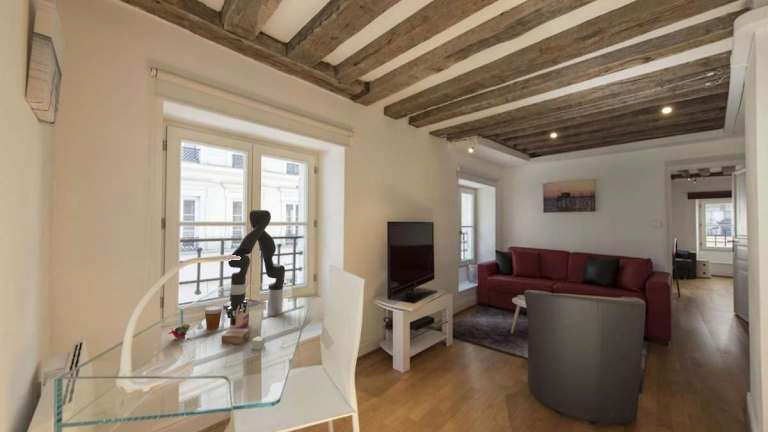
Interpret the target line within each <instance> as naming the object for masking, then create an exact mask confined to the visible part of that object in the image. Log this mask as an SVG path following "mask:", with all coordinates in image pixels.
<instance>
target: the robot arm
mask: <svg viewBox="0 0 768 432" xmlns="http://www.w3.org/2000/svg"><path fill="white" fill-rule="evenodd" d="M271 217H272V215H271V212H270V211H269V210H267V209H252V210H251V211H250V212H249V217H248V218H249V221H250V222H249V223H250V225H251V227H252V230H251V231H249V232H248V233H247V234H246V235H245V236H244V237H243V238H242V240H241V242H240V245H239V246H238V247H237V248H236V249H235V250H234V251H233V252H232V253H231V255H236V256H240V257H241V259H240V260H231V261H228V260H227V261H228V266H229V267H230V268H234V269H235V268H236V269H240V270H239V271H234V272H232V273H231V279H230V280H231V281H230V291H229V301H230V304H231V307H230V306H229V307H227V308H225V309H226V315H227V318H228V319H230V318H231V325H235V323H236V314H237V313H238V312H240V313H245V312H246V307H247V303H248V302H247V301H244V300H245V298H246V295H247V294H246V291H247V286H246V282H247V281H246V280H247V273H248V270H249V267H250V264H251V259H250V256H248V255H250V254H251V253H252V252H253V249H254V248H255V245H256V243H257V242H258V243H257V244H258V246H259V250H260V253H261V255H262V259H263V263H264V269H265V274H266V275H267V276H266V277H268V278H271V279H275V282H271V283H269V284H268V291H267V293H268V294H267V311H266V314H267V316H270V317H276V316H281V315H282V314H283V303H284V299H283V298H284V297H283V295H284V294H283V291H284V284H285V275H286V268H285V265H282V264H275V263H274V261H273V257H274V255H275V253H276V250H277V247H276V246H277V245H276V243H275V240H274V238H273V237H272V236H271V235H270V234H269V233H268V231H266V228H267V227H268V226H269V224H270V222H271ZM243 308H244V310H243ZM233 311H236V312H233ZM233 314H234V316H233ZM230 315H231V316H230Z"/></svg>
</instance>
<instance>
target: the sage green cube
mask: <svg viewBox="0 0 768 432" xmlns="http://www.w3.org/2000/svg"><path fill="white" fill-rule="evenodd" d="M265 339H266V338H265V337H263V336H256V337H254V338H252V339H251V348H250V349H254V350H259V351H260V350H261V349H262V348H264V347H265V344H266V343H265V341H266V340H265Z"/></svg>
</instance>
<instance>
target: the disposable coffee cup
mask: <svg viewBox="0 0 768 432" xmlns="http://www.w3.org/2000/svg"><path fill="white" fill-rule="evenodd" d="M223 310H224V309H223V306H222V305H217V304H213V305H210V306H209V305H208V306H206V307H205V308H204V310H203V312H204V317H205V327H206V330H207V331H214V330H217V329H219V328H220V323H221V317H222V313H223V312H222V311H223Z"/></svg>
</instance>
